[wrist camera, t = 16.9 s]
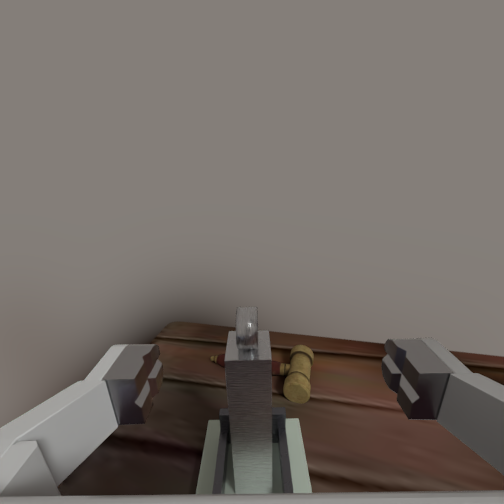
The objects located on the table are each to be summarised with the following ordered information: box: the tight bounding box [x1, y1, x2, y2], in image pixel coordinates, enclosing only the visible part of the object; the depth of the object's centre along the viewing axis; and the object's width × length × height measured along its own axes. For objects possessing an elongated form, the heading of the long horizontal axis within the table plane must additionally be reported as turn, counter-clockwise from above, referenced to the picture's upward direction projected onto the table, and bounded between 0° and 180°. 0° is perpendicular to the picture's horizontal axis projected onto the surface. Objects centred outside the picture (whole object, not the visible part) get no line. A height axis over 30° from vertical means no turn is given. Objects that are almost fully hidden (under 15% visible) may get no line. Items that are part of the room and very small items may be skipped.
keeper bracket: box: [196, 407, 312, 494], centre depth 31 cm, size 14×14×7 cm
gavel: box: [211, 345, 314, 403], centre depth 49 cm, size 21×5×10 cm
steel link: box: [224, 307, 272, 494], centre depth 27 cm, size 4×4×24 cm
